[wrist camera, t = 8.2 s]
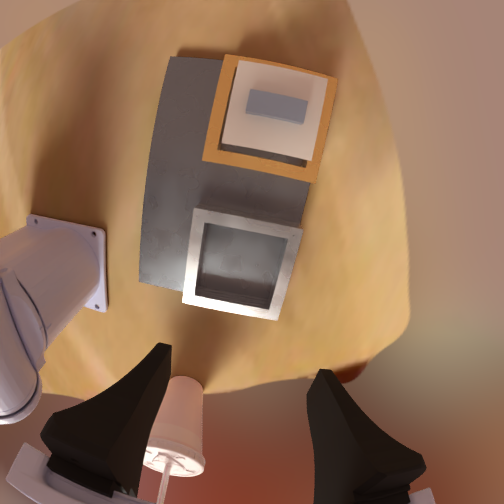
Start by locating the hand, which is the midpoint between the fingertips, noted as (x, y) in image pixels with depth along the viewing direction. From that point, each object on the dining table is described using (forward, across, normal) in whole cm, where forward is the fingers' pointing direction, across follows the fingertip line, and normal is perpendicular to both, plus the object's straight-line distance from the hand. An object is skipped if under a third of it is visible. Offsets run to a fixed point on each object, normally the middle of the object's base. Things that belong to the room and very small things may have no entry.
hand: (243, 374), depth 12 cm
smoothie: (+10, +4, +14) cm, 18 cm away
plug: (+9, +1, -12) cm, 15 cm away
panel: (+10, +3, -7) cm, 12 cm away
